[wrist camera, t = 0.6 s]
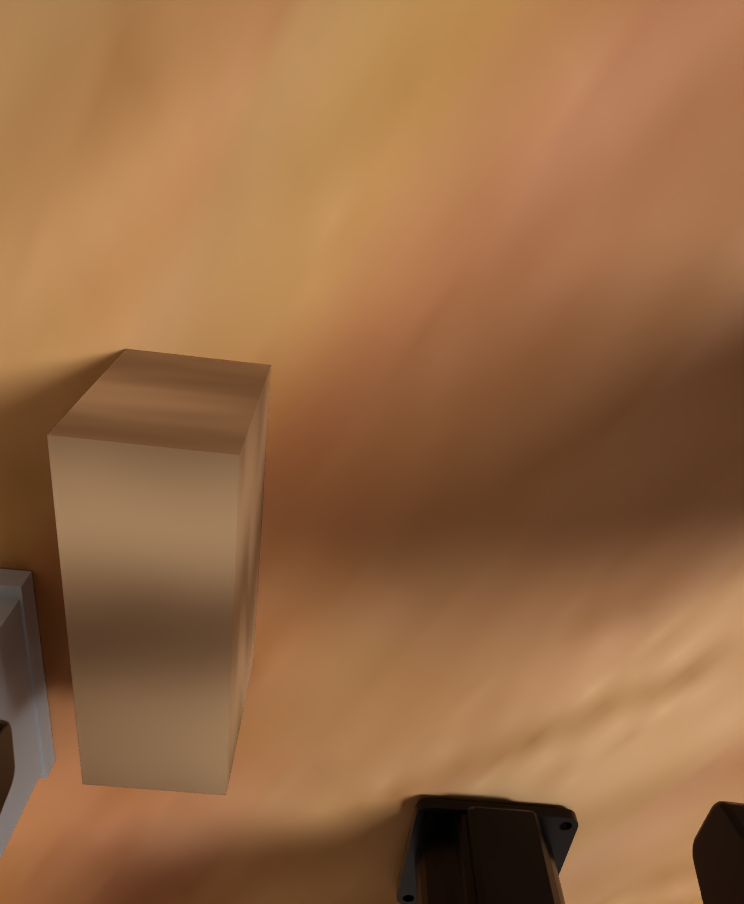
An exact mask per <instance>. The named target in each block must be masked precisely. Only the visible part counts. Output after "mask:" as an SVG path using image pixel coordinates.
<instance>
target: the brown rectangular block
mask: <svg viewBox="0 0 744 904" xmlns="http://www.w3.org/2000/svg"><path fill="white" fill-rule="evenodd" d="M270 373H271V365H265V364H256V363H247V362H238V361H229V360H220V359H212V358H203V357H194V356H185V355H176V354H167V353H158V352H149V351H141V350H132V349H125V350H124V351H123V352H122V353H121V354H120V356H119V357H118V358H117V359H116V360H115V361H114V362H113V363H112V364H111V365H110V367H109V368H108V369H107V370H106V371H105V372H104V373H103V374H102V375H101V376H100V377H99V379H98V380H97V381H96V382H95V383H94V384H93V385H92V386H91V387H90V388H89V389H88V391H87V392H86V393H85V394H84V395H83V396H82V397H81V398H80V399H79V400H78V402H77V403H76V404H75V405H74V406H73V407H72V408H71V409H70V410H69V411H68V412H67V414H66V415H65V416H64V417H63V418H62V419H61V420H60V421H59V422H58V423H57V424H56V426H55V427H54V428H53V429H52V430H51V431H50V432H49V433H48V434H47V440H48V450H49V460H50V469H51V479H52V489H53V499H54V509H55V518H56V528H57V538H58V548H59V558H60V567H61V577H62V587H63V597H64V606H65V616H66V626H67V636H68V646H69V655H70V665H71V675H72V685H73V695H74V704H75V714H76V724H77V734H78V743H79V753H80V763H81V773H82V783H83V784H86V785H99V786H112V787H125V788H138V789H151V790H163V791H176V792H189V793H202V794H215V795H226V793H227V788H228V783H229V778H230V773H231V768H232V763H233V758H234V753H235V748H236V744H237V739H238V734H239V729H240V724H241V719H242V714H243V709H244V704H245V699H246V694H247V689H248V684H249V679H250V674H251V669H252V664H253V660H254V644H255V627H256V610H257V593H258V576H259V559H260V542H261V525H262V509H263V492H264V475H265V458H266V441H267V424H268V407H269V390H270Z"/></svg>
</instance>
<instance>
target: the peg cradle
mask: <svg viewBox="0 0 744 904" xmlns="http://www.w3.org/2000/svg"><path fill="white" fill-rule="evenodd" d="M0 720H5V721H8V722H9V724H10V725H11V728H12V737H13V747H14V758H15V774H14V779H13V782H12V786H11V788H10V791H9V794H8V796H7V799H6V801H5V804H4V806H3V809H2V811H1V814H0V858H1V856H2V854H3V852H4V850H5V847H6V845H7V843H8V841H9V839H10V837H11V835H12V833H13V831H14V828H15V826H16V824H17V822H18V820H19V818H20V816H21V814H22V812H23V810H24V807H25V805H26V803H27V801H28V799H29V797H30V795H31V793H32V791H33V789H34V786H35V784H36V782H37V780H38V778H47V777H48V774H49V772H50V770H51V768H52V766H53V764H54V762H55V755H54V747H53V739H52V731H51V723H50V714H49V706H48V698H47V690H46V682H45V674H44V666H43V658H42V650H41V642H40V634H39V626H38V618H37V610H36V602H35V594H34V586H33V578H32V571H22V570H11V569H0Z"/></svg>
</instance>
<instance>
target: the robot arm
mask: <svg viewBox="0 0 744 904" xmlns="http://www.w3.org/2000/svg"><path fill="white" fill-rule="evenodd" d="M14 774H15V758H14V747H13V737H12V728H11V725H10V724H9V722H8V721H5V720H0V814H1V811H2V809H3V806H4V804H5V801H6V799H7V796H8V794H9V791H10V788H11V786H12V782H13V779H14ZM577 828H578V821H577V818H576V814H575V813H574V812H573V811H572V810H569V809H562V808H549V807H536V806H524V805H511V804H498V803H485V802H472V801H459V800H446V799H433V798H425V799H422V800H420V801H419V802H417V804H416V806H415V810H414V815H413V819H412V823H411V828H410V832H409V836H408V841H407V845H406V849H405V854H404V858H403V862H402V867H401V871H400V875H399V880H398V884H397V901H398V902H399V903H401V904H565V901H564V897H563V893H562V888H561V884H560V880H559V873H560V871H561V868H562V866H563V863H564V861H565V858H566V856H567V853H568V851H569V848H570V846H571V843H572V841H573V838H574V836H575V833H576V831H577ZM692 852H693V861H694V865H695V870H696V874H697V878H698V883H699V887H700V891H701V896H702V900H703V904H744V804H743V803H735V802H726V801H719V802H717V803H715V804H714V805H713V806H712V808H711V810H710V811H709V813H708V815H707V817H706V819H705V820H704V822H703V824H702V826H701V828H700V830H699V831H698V833H697V835H696V837H695V839H694V843H693V851H692Z"/></svg>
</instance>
